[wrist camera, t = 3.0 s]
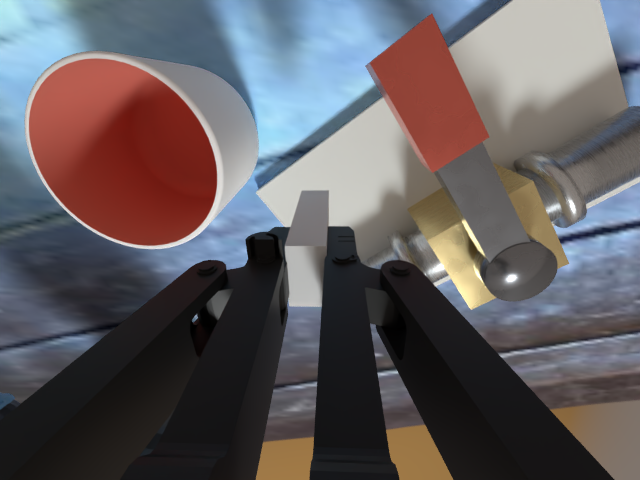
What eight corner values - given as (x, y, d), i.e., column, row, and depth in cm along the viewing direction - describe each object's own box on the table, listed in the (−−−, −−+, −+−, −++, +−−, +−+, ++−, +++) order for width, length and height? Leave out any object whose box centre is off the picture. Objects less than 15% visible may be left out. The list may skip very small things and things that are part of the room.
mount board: (364, 316, 32) (365, 322, 31) (258, 189, 26) (255, 192, 25) (636, 174, 25) (647, 177, 24) (573, -47, 19) (585, -54, 18)
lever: (546, 264, 20) (567, 282, 18) (487, 293, 21) (501, 312, 19) (429, 15, 14) (443, 4, 12) (356, 72, 15) (360, 70, 14)
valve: (364, 303, 31) (373, 361, 25) (324, 254, 29) (323, 304, 22) (620, 167, 24) (728, 196, 18) (596, 88, 22) (710, 87, 15)
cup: (256, 65, 22) (206, 50, 13) (266, 197, 27) (234, 251, 18) (122, 65, 22) (-17, 50, 14) (154, 195, 27) (66, 248, 18)
